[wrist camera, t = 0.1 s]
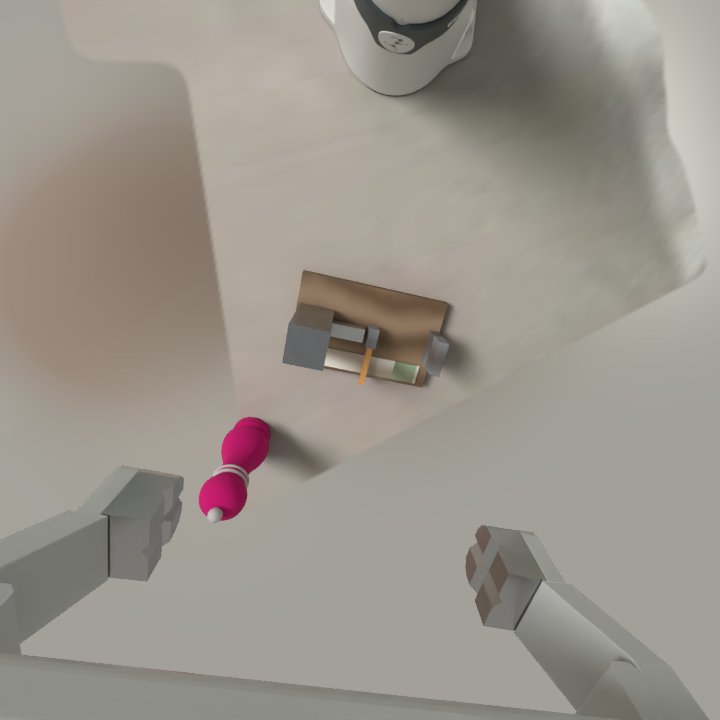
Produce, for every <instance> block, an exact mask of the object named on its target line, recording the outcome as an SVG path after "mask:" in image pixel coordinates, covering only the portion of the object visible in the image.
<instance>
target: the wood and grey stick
mask: <svg viewBox="0 0 720 720" xmlns="http://www.w3.org/2000/svg"><path fill="white" fill-rule="evenodd" d="M379 332H380V329H379V326H375V325H370V324H369V326H368V330H367V334H366V339H365V348H367V349H366V353H365V357H364V361H363V365H362V369H361V373H360V377H359V381H358V384H361V385H364V381H365V377H366V373H367V369H368V365H369V361H370V358H371V354H372V350H373V349H374V350H375V348H376V344H377V340H378V336H379Z"/></svg>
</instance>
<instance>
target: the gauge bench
mask: <svg viewBox="0 0 720 720" xmlns="http://www.w3.org/2000/svg"><path fill="white" fill-rule="evenodd" d="M300 303H304V304H308V305H313V306H317V307H322V308H327V309H331V310H334V315H333V320H336V321H341V322H345V323H350V324H355V325H359V326H364V327H365V334H364V338H363V342H362V343H360V342H355V341H350V340H346V339H341V338H336V337H331V336H330V340H329V345H328V349H327V354H326V359H325V364H324V368H327V369H332V370H337V371H342V372H347V373H352V374H357V375H360V373H361V369H362V365H363V361H364V357H365V353H366V349H367V348H365V339H366V334H367V330H368V326H369V324H370V325H375V326H379V329H380V332H379V336H378V340H377V344H376V348H375V350H374V349H373V350H372V354H371V358H370V361H369V365H368V369H367V373H366V376H368V377H373V378H378V379H383V380H388V381H393V382H398V383H403V384H408V385H413V386H418V387H423V383H424V380H425V377H426V374H427V372H428V374H429V375H433V376H438V377H439V375H440V372H441V369H442V366H443V363H444V360H445V357H446V354H447V351H448V348H449V343H448V342H447V341H446V339H445V338H444V337H443V336H442V335H441V334H440V329H441V325H442V322H443V319H444V316H445V313H446V309H447V306H448V303H446V302H443V301H439V300H434V299H430V298H426V297H421V296H417V295H412V294H408V293H403V292H399V291H394V290H390V289H385V288H381V287H377V286H372V285H368V284H363V283H359V282H354V281H350V280H345V279H341V278H337V277H332V276H328V275H323V274H319V273H314V272H310V271H305V270H304V271H303V274H302V279H301V285H300V291H299V297H298V303H297V309H298V307H299V305H300ZM297 309H296V310H297Z"/></svg>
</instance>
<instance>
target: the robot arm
mask: <svg viewBox="0 0 720 720" xmlns="http://www.w3.org/2000/svg"><path fill="white" fill-rule="evenodd" d="M476 8H477V0H320V10H321V13H322V15H323V16H324V18H325V19H326V21H327V22H328V23H329V25H330V26H331V27H332V28H333V30H334V31H335V33H336V35H337V37H338V40H339V43H340V46H341V50H342V53H343V55H344V57H345V60H346V62H347V64H348V65H349V67H350V69H351V70H352V72H353V73H354V74H355V75H356V77H357V78H358V79H359V80H360V81H361V82H363V83H364V84H365V85H366V86H368V87H369V88H371V89H373V90H375V91H377V92H379V93H382V94H386V95H405V94H409V93H412V92H415V91H417V90H419V89H421V88H423V87H424V86H426V85H427V84H428V83H430V82H431V81H432V80H433V79H434V78H435V77H436V76H437V75H438V74H439V73H440V71H441V70H442V69H443V68H444V67H446V66H447V65H449V64H451V63H454V62H456V61H458V60H460V59H462V58H464V57H465V56H466V55H467V54H468V53H469V51H470V49H471V47H472V43H473V35H474V26H475V17H476ZM465 34H466V35H465ZM183 483H184V478H183V477H182V476H178V475H173V474H168V473H162V472H157V471H152V470H146V469H139V468H134V467H128V466H123V465H122V466H120V467H118V468H116V469H115V470H114V471H113V472H112V474H110V475H109V477H108V478H107V479H106V480H105V481H104V482H103V483H102V484H101V485H100V486H99V487H98V488H97V489H96V490H95V491H94V492H93V493H92V494H91V495H90V497H89V498H88V499H87V500H86V501H85V502H84V503H83V504H82V505H81V506H80V507H79V508H78V509H77V510H76V511H72V510H68V511H66V512H64V513H62V514H59V515H57V516H54V517H52V518H50V519H47V520H45V521H43V522H40V523H38V524H36V525H33V526H31V527H29V528H26V529H24V530H22V531H19V532H17V533H15V534H12V535H10V536H8V537H5V538H3V539H1V540H0V720H709V719H708V717H707V716H706V715H705V713H704V712H703V710H702V709H701V708H700V706H699V705H698V704H697V702H696V701H695V699H694V698H693V697H692V695H691V694H690V693H689V691H688V690H687V688H686V687H685V686H684V684H683V683H682V682H681V680H680V679H679V677H678V676H677V675H676V673H675V672H674V671H673V669H672V668H671V666H669V665H668V664H667V663H666V662H665V661H663V660H662V659H661V658H660V657H659V656H657V655H656V654H655V653H654V652H652V651H651V650H650V649H649V648H648V647H646V646H645V645H644V644H643V643H642V642H640V641H639V640H638V639H637V638H636V637H634V636H633V635H632V634H631V633H629V632H628V631H627V630H626V629H625V628H624V627H622V626H621V625H620V624H619V623H617V622H616V621H615V620H614V619H613V618H611V617H610V616H609V615H608V614H607V613H605V612H604V611H603V610H601V609H600V608H599V607H598V606H597V605H596V604H595V603H593V602H592V601H591V600H590V599H589V598H587V597H586V596H585V595H584V594H582V593H581V592H580V591H579V590H578V589H576V588H575V587H574V586H573V585H569V584H566V582H565V580H564V579H563V577H562V575H561V574H560V572H559V571H558V569H557V567H556V566H555V564H554V562H553V561H552V559H551V558H550V556H549V554H548V553H547V551H546V549H545V548H544V546H543V544H542V543H541V541H540V540H539V538H538V536H536V535H535V534H534V533H533V532H527V531H520V530H510V529H504V528H497V527H491V526H485V525H482V526H480V527H479V528H478V530H477V532H476V535H475V536H476V539H477V543H476V544H474V545H473V546H471V547H470V548H469V551H468V554H467V556H466V575H467V579H468V582H469V584H470V586H471V587H472V588H473V589H474V590H475V591H476V592H477V593H478V594H477V596H476V599H475V603H476V605H477V608H478V611H479V614H480V617H481V620H482V623H483V626H488V627H494V628H500V629H506V630H512V631H515V632H514V633H515V634H516V636H517V637H518V638H519V639H520V640H521V642H522V643H523V644H524V645H525V647H526V648H527V649H528V651H529V652H530V653H531V654H532V656H533V657H534V658H535V659H536V661H537V662H538V663H539V664H540V666H541V667H542V668H543V669H544V671H545V672H546V673H547V674H548V676H549V677H550V678H551V679H552V681H553V682H554V683H555V684H556V686H557V687H558V688H559V689H560V691H561V692H562V693H563V695H564V696H565V697H566V698H567V699H568V701H569V702H570V703H571V705H572V706H573V707H574V708H575V710H576V711H577V712H576V713H575V714H566V713H556V712H548V711H539V710H529V709H520V708H510V707H501V706H492V705H483V704H473V703H464V702H454V701H445V700H435V699H426V698H416V697H407V696H398V695H388V694H378V693H370V692H361V691H351V690H342V689H333V688H323V687H314V686H305V685H296V684H287V683H278V682H269V681H260V680H250V679H241V678H232V677H223V676H213V675H204V674H195V673H186V672H177V671H167V670H157V669H149V668H139V667H130V666H121V665H111V664H102V663H93V662H84V661H74V660H65V659H56V658H46V657H38V656H27V655H21V649H20V643H22V642H23V641H24V640H26V639H27V638H29V637H30V636H31V635H33V634H34V633H36V632H37V631H38V630H40V629H41V628H42V627H44V626H45V625H46V624H48V623H49V622H51V621H52V620H53V619H55V618H56V617H57V616H59V615H60V614H61V613H63V612H64V611H66V610H67V609H68V608H70V607H71V606H72V605H74V604H75V603H77V602H78V601H79V600H81V599H82V598H84V597H85V596H86V595H88V594H89V593H90V592H92V591H93V590H95V589H96V588H97V587H99V586H100V585H101V584H103V583H104V582H105V581H106V580H108V577H109V578H119V579H129V580H140V581H148V579H149V577H150V575H151V574H152V572H153V570H154V568H155V567H156V565H157V563H158V561H159V560H160V558H161V551H162V550H161V549H162V546H163V545H165V544H166V543H168V542H170V540H171V538H172V536H173V534H174V532H175V530H176V527H177V525H178V522H179V518H180V515H181V510H182V502H181V501H180V499H179V498H178V497H179V495H180V494H181V492H182V490H183Z"/></svg>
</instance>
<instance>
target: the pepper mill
mask: <svg viewBox="0 0 720 720" xmlns="http://www.w3.org/2000/svg"><path fill="white" fill-rule="evenodd" d="M269 439H270V430H269V428H268V426H267V425H266V424H265V423H264V422H263V421H262V420H260V419H257V418H252V417H248V418H244V419H241V420H240V421H238V422H237V424H236V425H235V427H234V428H233V430H231V431H230V432H229V433H228V434H227V435H226V436H225V438H224V441H223V444H222V450H221V452H222V459H223V465H222V466H221V467H219V468H218V469H217V470H216V471H215V472H214V474H213V476H212V477H211V478H210V479H209V480H207V481H206V482H205V484H204V485H203V487H202V489H201V491H200V494H199V505H200V508H201V510H202V512H203V513H204V514H205V515H206V516H207V517H208V520H209V521H210V522H212V523H216V522H218V521H222V520H228V519H231V518H233V517H235V516H236V515H237V514H238V513H239V512H240V511H241V510H242V509H243V507H244V505H245V503H246V500H247V487H248V485H249V476H248V474H249V473H250V472H252V471H253V470H254V469H256V468H257V467H258V466H259V465H260V464H261V463H262V462H263V461H264V459H265V458H266V456H267V453H268V449H269V445H268V442H269Z"/></svg>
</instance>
